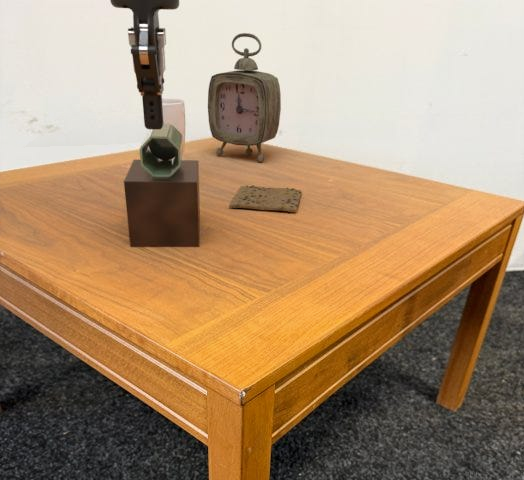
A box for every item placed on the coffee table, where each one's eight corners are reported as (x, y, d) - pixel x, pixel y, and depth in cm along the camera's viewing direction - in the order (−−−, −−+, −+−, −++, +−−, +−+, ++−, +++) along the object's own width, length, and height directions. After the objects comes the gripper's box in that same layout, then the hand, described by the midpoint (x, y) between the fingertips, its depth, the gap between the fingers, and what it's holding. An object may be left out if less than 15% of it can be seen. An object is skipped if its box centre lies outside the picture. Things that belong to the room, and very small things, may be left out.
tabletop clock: (208, 156, 127) (206, 31, 114) (227, 149, 134) (227, 30, 120) (264, 165, 122) (269, 35, 108) (281, 157, 129) (287, 34, 115)
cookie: (239, 188, 106) (239, 183, 105) (302, 193, 105) (302, 188, 104) (227, 207, 96) (227, 202, 95) (296, 213, 95) (297, 207, 94)
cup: (181, 177, 77) (179, 136, 74) (141, 177, 77) (138, 135, 74) (183, 161, 85) (182, 123, 82) (147, 161, 84) (144, 123, 81)
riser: (130, 246, 80) (123, 181, 75) (138, 218, 90) (133, 159, 85) (199, 246, 81) (197, 181, 76) (200, 219, 91) (198, 160, 86)
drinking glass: (153, 189, 104) (147, 103, 96) (152, 179, 109) (146, 97, 101) (189, 188, 105) (186, 103, 97) (186, 179, 111) (182, 98, 103)
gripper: (114, -42, 64) (129, 118, 73) (95, -50, 53) (116, 139, 62) (179, -39, 64) (186, 118, 74) (174, -47, 53) (182, 140, 63)
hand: (154, 128), depth 68 cm, fingers closed
